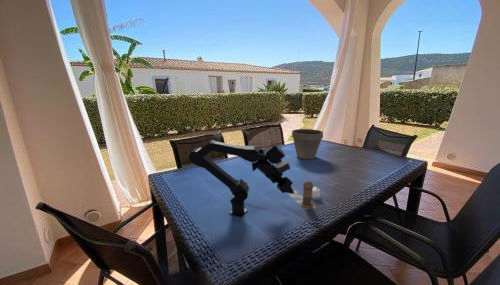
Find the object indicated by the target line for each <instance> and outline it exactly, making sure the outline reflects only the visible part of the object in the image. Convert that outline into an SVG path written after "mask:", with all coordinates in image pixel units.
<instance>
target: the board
mask: <svg viewBox="0 0 500 285" xmlns="http://www.w3.org/2000/svg"><path fill="white" fill-rule="evenodd" d="M293 191H294V193H293V194H291V193H286V194H287V195H288V196H290V198H292V200H294V201H295V202H296V203H297V204H298V205H299V206H300V207H301V208H303V209H304V210H305V211H306V210H311V209H316V206H315V205H313V207H312V208H304V207H302V206H301V202H303V195H302V194H300V192H298V191H297V190H293Z"/></svg>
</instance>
